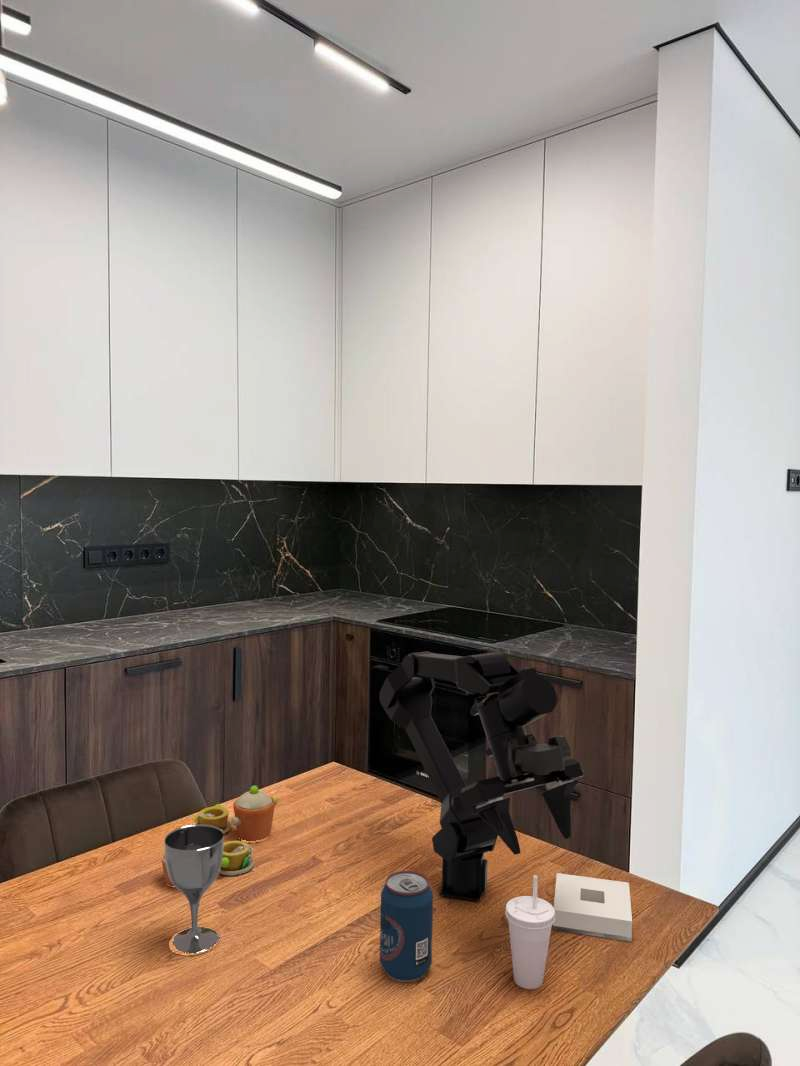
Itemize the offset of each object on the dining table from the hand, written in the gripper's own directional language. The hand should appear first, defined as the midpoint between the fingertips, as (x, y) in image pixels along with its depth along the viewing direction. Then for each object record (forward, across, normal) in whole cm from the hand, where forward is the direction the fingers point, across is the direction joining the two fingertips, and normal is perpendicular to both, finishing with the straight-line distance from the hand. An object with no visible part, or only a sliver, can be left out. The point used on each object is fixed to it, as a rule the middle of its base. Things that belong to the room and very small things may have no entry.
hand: (543, 846), depth 106 cm
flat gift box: (+11, +13, +10) cm, 20 cm away
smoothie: (+15, -6, +5) cm, 17 cm away
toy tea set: (-14, -30, +49) cm, 59 cm away
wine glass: (-2, -41, +30) cm, 51 cm away
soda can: (+9, -18, +13) cm, 24 cm away
